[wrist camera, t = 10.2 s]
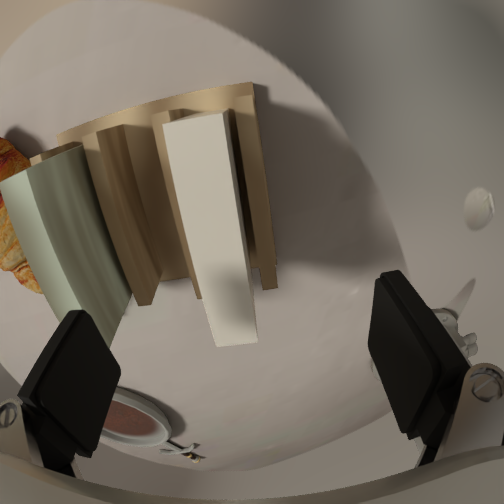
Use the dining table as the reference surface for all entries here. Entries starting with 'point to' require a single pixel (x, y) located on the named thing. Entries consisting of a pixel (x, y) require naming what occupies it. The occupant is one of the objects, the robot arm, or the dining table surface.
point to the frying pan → (139, 424)
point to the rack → (128, 207)
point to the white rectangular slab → (214, 221)
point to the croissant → (3, 235)
